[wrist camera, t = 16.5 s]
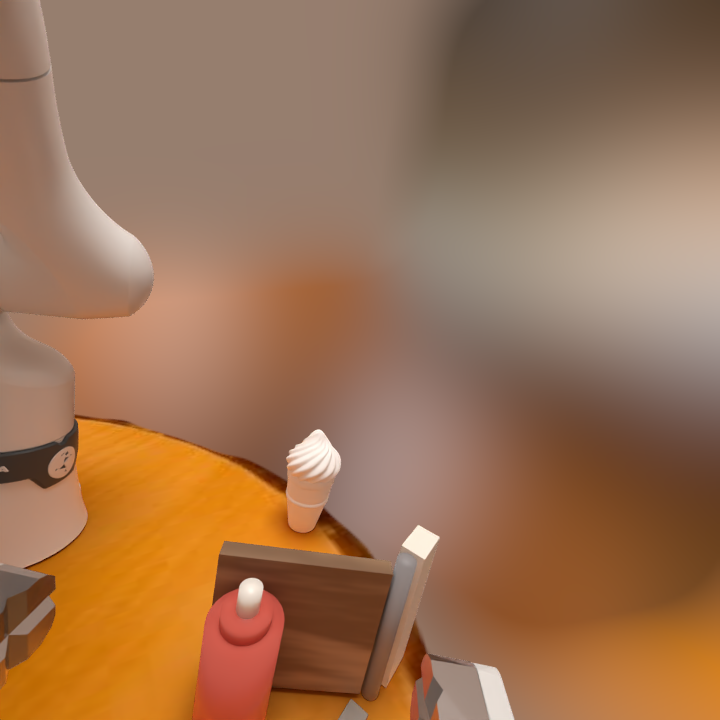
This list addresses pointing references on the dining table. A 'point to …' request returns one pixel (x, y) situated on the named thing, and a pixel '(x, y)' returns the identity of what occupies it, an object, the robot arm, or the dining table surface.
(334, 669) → the door
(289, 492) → the soft serve ice cream cone
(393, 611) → the white-tipped grey slat
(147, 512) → the dining table surface
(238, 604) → the ketchup bottle
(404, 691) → the dining table surface
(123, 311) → the robot arm
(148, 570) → the dining table surface
